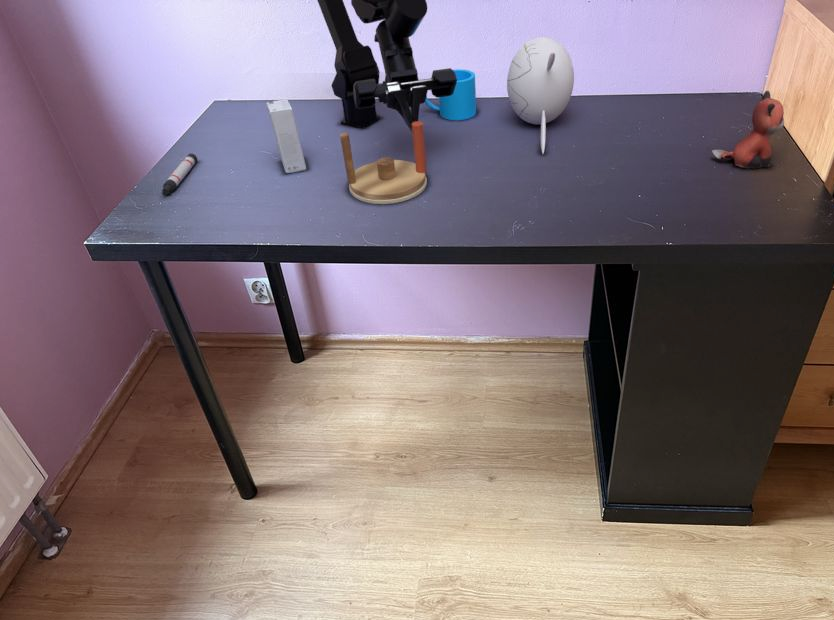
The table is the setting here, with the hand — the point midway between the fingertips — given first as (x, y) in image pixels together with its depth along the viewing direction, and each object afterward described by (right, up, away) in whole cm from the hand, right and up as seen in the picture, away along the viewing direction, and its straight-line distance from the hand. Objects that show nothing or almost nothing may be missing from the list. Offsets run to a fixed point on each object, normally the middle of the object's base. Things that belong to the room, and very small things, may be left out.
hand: (415, 132), depth 121 cm
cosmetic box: (-25, -4, +10) cm, 27 cm away
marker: (-46, -7, +7) cm, 47 cm away
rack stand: (-5, -9, +2) cm, 11 cm away
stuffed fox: (+61, -4, +3) cm, 62 cm away
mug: (+6, +13, +27) cm, 31 cm away
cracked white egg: (+25, +7, +19) cm, 32 cm away
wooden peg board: (-5, -9, +1) cm, 10 cm away
